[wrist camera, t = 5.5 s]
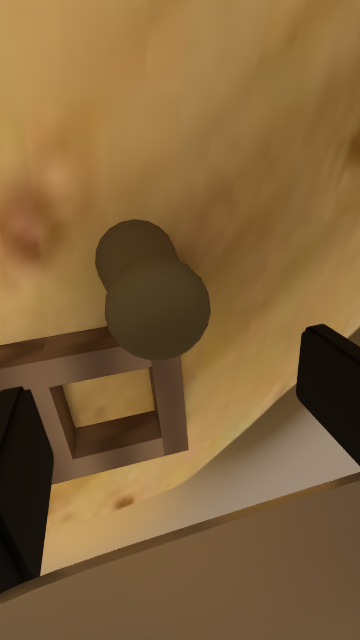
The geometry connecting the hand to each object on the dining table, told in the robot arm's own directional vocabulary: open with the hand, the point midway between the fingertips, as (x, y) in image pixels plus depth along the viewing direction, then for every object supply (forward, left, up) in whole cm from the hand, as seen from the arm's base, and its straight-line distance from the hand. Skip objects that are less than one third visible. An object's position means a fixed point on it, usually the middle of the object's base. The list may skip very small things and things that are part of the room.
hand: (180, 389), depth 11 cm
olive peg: (0, 0, -15) cm, 15 cm away
